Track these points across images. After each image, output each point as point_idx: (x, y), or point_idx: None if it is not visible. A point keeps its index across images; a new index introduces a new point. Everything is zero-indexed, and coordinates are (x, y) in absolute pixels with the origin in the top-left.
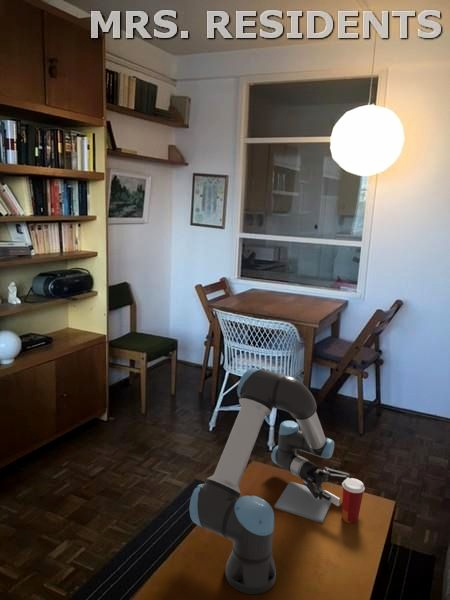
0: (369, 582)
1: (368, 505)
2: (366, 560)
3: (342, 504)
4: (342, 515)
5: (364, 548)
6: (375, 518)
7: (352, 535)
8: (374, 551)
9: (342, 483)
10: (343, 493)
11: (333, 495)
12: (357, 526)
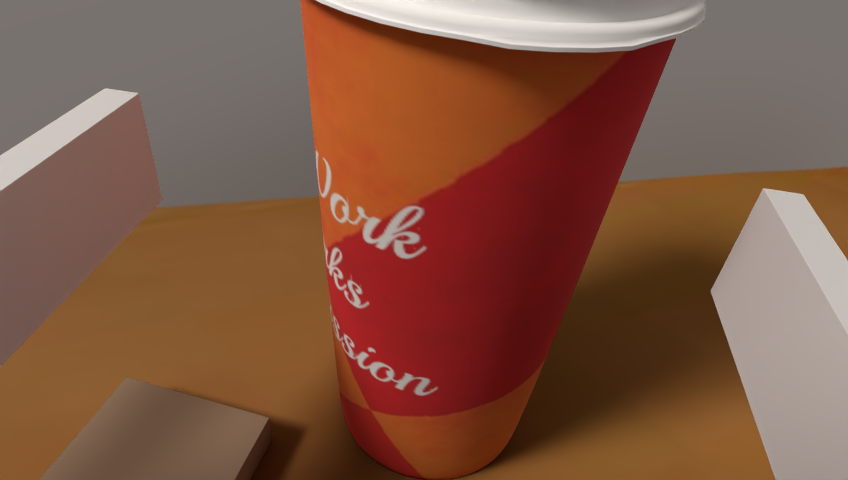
0: (839, 167)
1: (65, 336)
2: (737, 201)
3: (530, 350)
4: (508, 434)
5: (664, 227)
6: (269, 251)
7: (632, 309)
8: (627, 191)
9: (586, 45)
10: (614, 167)
11: (838, 272)
12: None
